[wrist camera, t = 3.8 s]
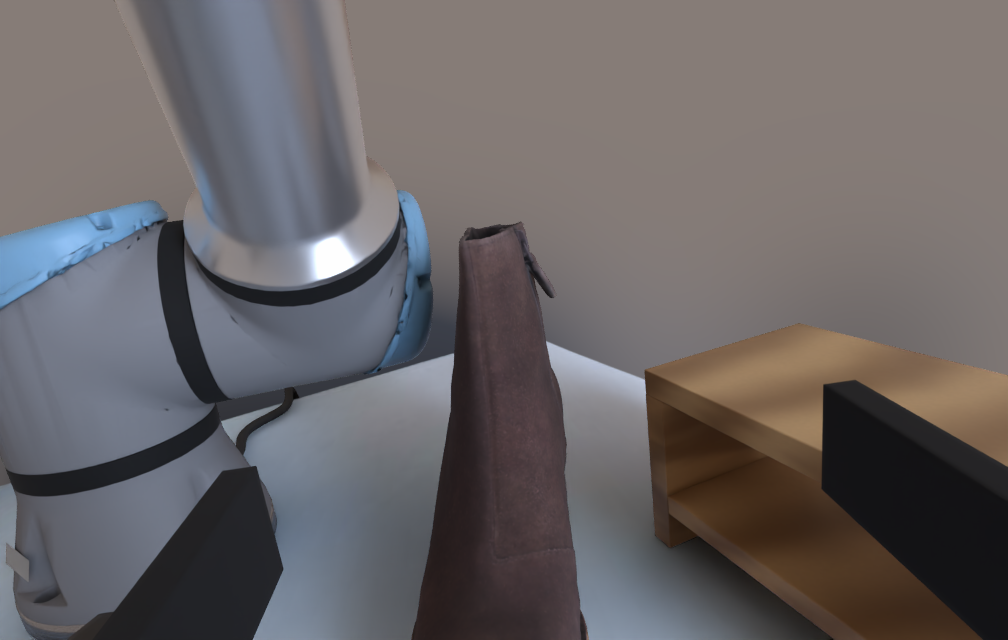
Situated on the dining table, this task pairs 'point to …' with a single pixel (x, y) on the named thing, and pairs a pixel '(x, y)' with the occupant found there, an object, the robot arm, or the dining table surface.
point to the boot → (501, 463)
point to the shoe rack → (804, 470)
